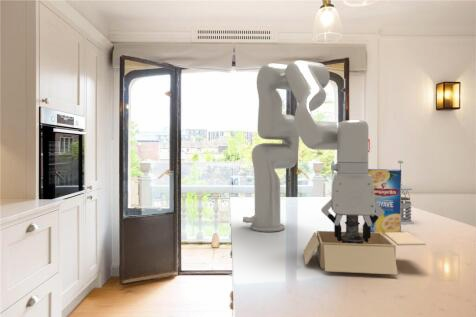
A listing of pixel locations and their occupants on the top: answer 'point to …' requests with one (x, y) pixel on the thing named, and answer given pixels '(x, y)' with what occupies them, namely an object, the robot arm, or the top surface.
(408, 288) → the top surface
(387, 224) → the beverage box
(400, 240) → the flap
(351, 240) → the weathered iron finial
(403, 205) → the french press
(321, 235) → the carton
